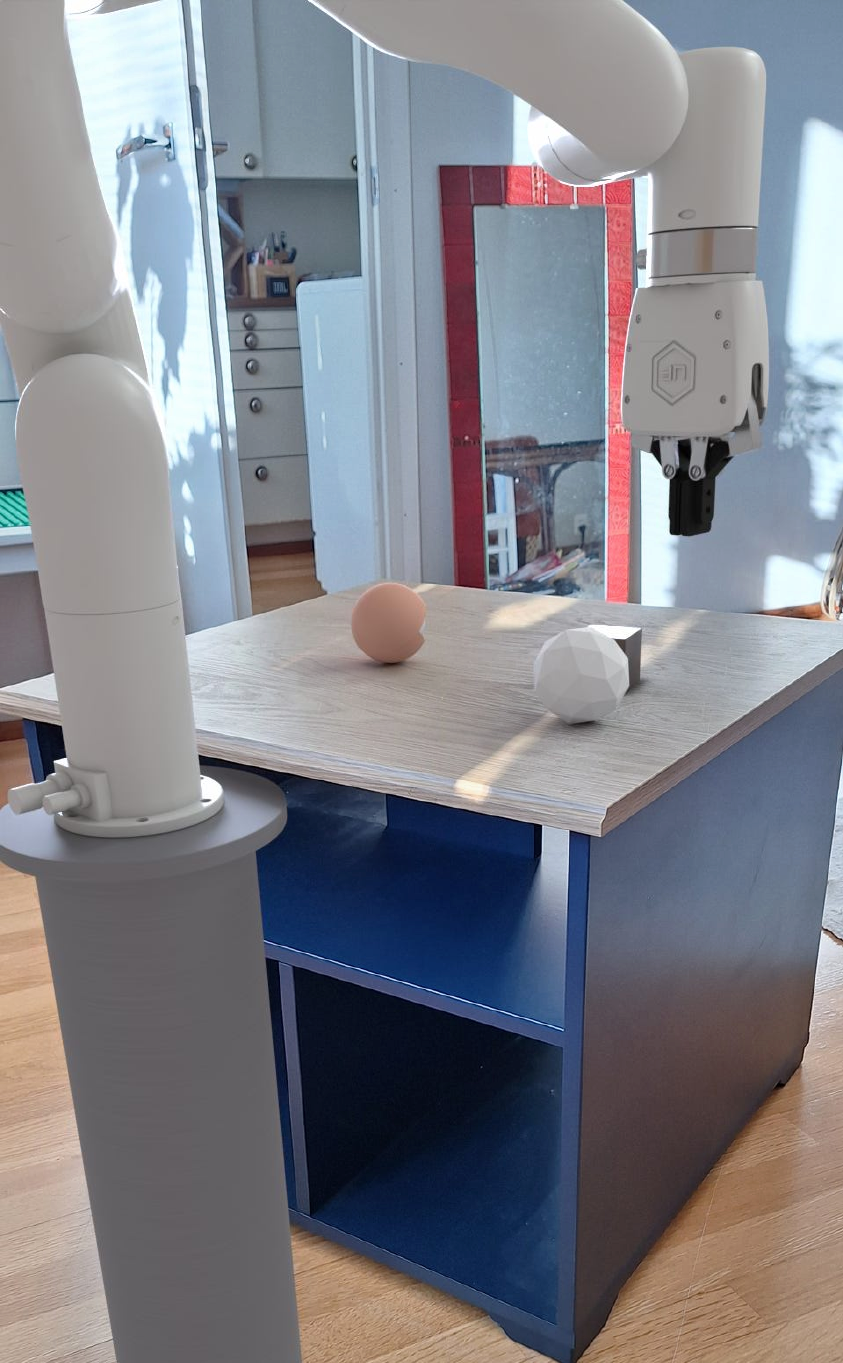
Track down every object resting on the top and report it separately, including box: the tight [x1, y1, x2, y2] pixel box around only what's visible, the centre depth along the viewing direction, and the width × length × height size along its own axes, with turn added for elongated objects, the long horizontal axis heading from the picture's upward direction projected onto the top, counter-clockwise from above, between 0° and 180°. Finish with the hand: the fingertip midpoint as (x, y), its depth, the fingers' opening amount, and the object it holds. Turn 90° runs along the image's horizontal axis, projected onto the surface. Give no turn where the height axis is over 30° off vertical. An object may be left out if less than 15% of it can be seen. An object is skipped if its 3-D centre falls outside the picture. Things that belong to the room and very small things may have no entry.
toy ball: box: [350, 582, 427, 664], centre depth 130 cm, size 8×8×8 cm
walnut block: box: [588, 624, 643, 693], centre depth 119 cm, size 5×5×5 cm
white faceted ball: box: [532, 626, 629, 725], centre depth 110 cm, size 8×8×12 cm
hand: (690, 532), depth 97 cm, fingers closed
